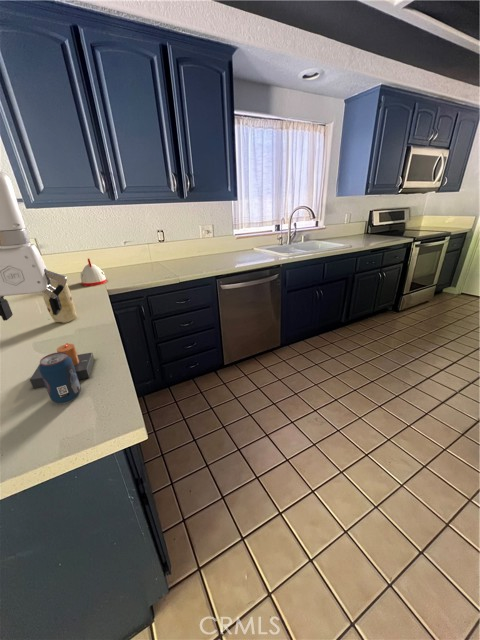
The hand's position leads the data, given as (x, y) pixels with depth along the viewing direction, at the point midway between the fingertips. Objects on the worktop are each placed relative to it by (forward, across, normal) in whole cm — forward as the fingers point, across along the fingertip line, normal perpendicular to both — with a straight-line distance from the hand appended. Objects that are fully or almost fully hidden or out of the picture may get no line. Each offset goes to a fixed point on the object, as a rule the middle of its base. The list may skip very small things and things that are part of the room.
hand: (33, 315), depth 61 cm
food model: (+24, -11, +54) cm, 61 cm away
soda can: (+23, +2, -2) cm, 23 cm away
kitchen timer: (+24, -9, +115) cm, 118 cm away
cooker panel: (+23, -1, +10) cm, 26 cm away
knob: (+20, +1, +10) cm, 23 cm away
